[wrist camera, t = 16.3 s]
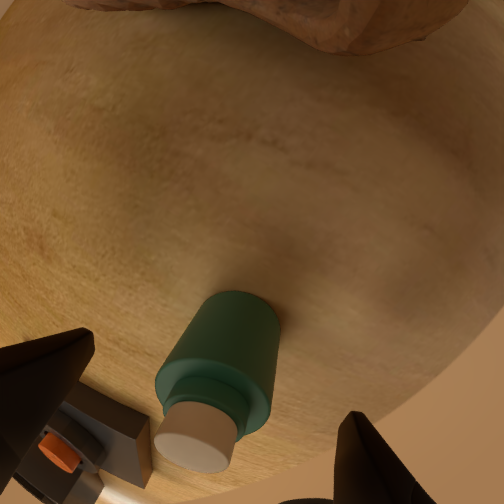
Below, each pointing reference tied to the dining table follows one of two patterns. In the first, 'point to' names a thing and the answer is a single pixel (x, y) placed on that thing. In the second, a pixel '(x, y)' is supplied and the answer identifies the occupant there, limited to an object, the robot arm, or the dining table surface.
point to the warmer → (56, 480)
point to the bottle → (217, 381)
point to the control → (104, 435)
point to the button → (59, 453)
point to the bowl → (326, 19)
